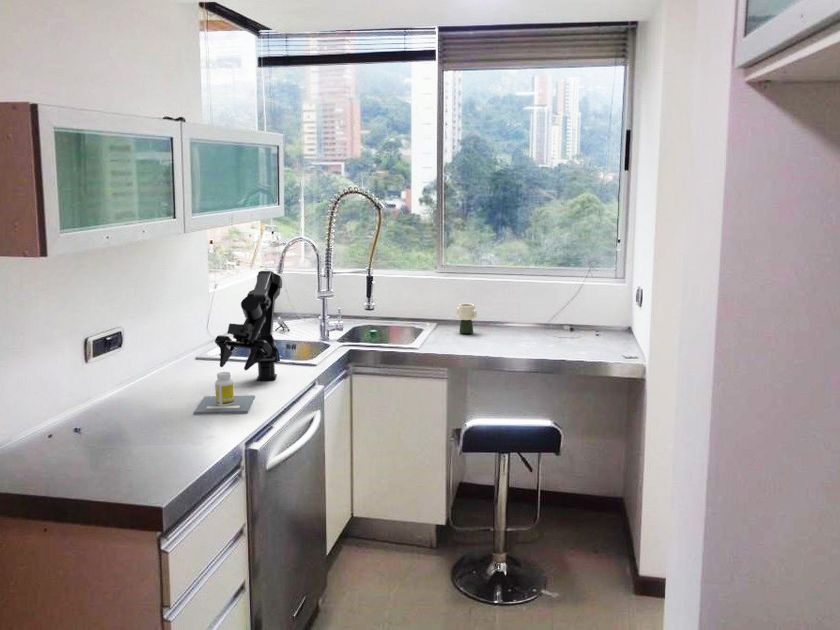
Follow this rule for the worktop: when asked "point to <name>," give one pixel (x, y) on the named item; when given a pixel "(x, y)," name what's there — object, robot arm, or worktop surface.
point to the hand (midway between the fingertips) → (232, 368)
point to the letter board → (239, 406)
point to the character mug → (466, 317)
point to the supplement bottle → (224, 389)
